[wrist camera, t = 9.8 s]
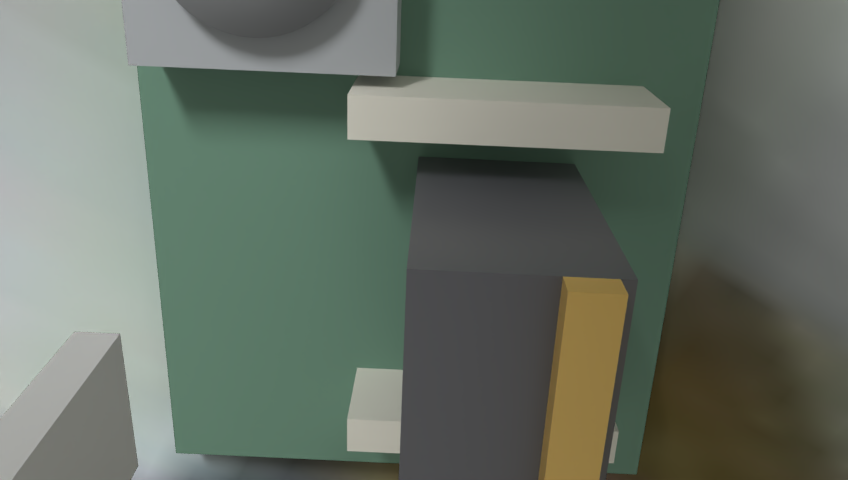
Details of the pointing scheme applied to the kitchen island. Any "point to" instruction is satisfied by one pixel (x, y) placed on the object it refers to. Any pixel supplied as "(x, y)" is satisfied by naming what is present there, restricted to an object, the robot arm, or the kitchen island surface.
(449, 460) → the plug
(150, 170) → the header board
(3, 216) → the kitchen island surface
